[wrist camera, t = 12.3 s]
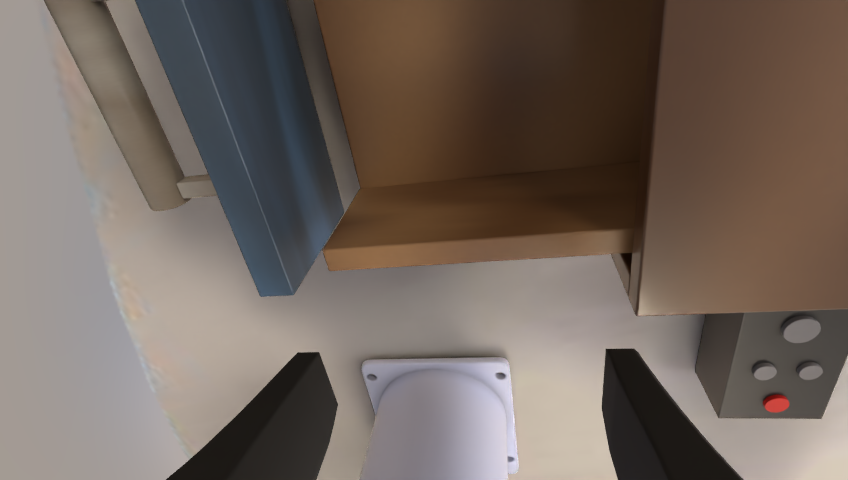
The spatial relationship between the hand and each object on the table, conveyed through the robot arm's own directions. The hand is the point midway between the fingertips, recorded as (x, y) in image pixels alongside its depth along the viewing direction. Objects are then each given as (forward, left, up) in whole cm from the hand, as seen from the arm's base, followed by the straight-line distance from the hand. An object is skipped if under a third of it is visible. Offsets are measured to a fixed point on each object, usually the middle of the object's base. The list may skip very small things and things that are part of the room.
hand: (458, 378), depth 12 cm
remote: (-6, -12, -9) cm, 16 cm away
